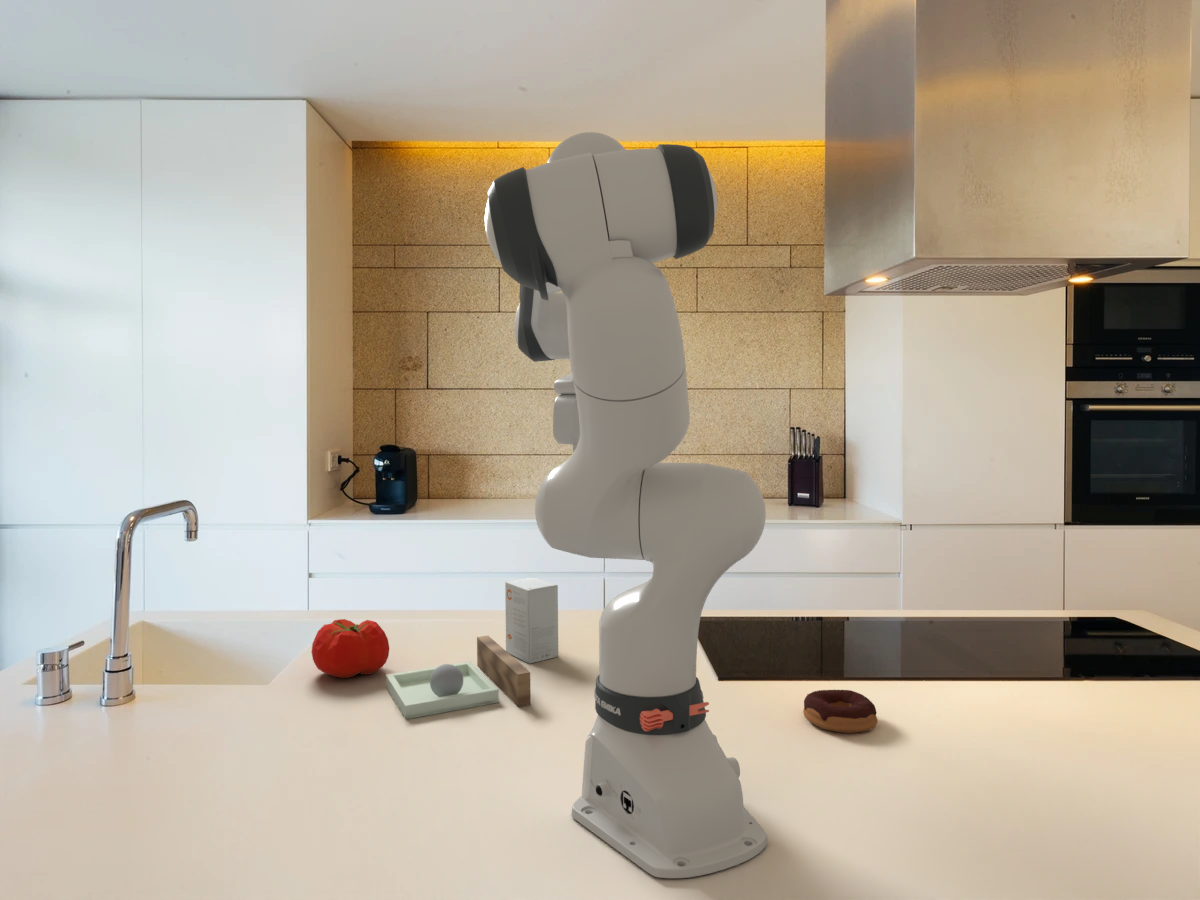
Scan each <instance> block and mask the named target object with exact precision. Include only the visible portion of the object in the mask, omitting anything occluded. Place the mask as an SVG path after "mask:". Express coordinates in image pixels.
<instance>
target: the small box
mask: <svg viewBox="0 0 1200 900" xmlns="http://www.w3.org/2000/svg"><path fill="white" fill-rule="evenodd" d="M504 587H505V589H504V590H505V591H504V592H505V651H507V652H508V653H509V654H510V655H511V656H512V657H514V658H518V659H519V660H521V661H523V662H525V663H527V664H534V663H539V662H542V661H546V660H550V659H555V658H557V657H559V598H558V597H559V592H558V589H559V585H558V584H556V583H553V582H549V581H547V580H543V579H541V578H538V577H535V576H534V577H533V576H532V577H526V578H520V579H513V580H507V581H505V586H504Z"/></svg>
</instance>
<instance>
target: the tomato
mask: <svg viewBox="0 0 1200 900" xmlns="http://www.w3.org/2000/svg"><path fill="white" fill-rule="evenodd" d="M386 634H387V633H385V631H384V630H383V628H382V627H381V626H380V624H378V623H377V622H376V621H374V620H369V619H366V620H363V621H362V622H360V623H359V624H358V623H357V624H356V623H354V622H353V621H351V620H349V619H346V618H344V619H342V618H341V619H335V620H333V621H332V622H330V623H326V624H323V626H322V627H320V629H319V630H318V631H317V632H316V635H315V637H314V639H313V642H312V644H311V645H312V646H311V656H312V661H313V663H314V665H315V667H316V668H317V669H318V671H320V672H322V673H325V674H328V675H331V676H332V677H333V676H334V677H336V678H344V679H348V678H351V677H354V676H356V675H358V674H362V675H371V674H374V673H376V672H378V671H379V670H380V669H381V668H383V666H384V665H385V664H386V663H387V661H388V658H389V654H390V645H389V638H388V636H387V635H386Z"/></svg>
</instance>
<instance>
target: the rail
mask: <svg viewBox="0 0 1200 900" xmlns="http://www.w3.org/2000/svg"><path fill="white" fill-rule="evenodd" d="M476 659H477V660H476V662H477V666H476V667H477V668H478V669H479V670H480V671H481V672H482V673H483V674H484V675H485V676H486V677H487V678H488V679H489V680H490V681H491V682H492V683H493V684H494V685H495V686H496V687H498V689H499V690H501V692H502V693H503V694H505V695H506V696H507V698H508V699H509V700H511V701H512V703H513V704H514V705H515V706H516V707H518V708H521V707H527V706H530V705H532V704H531V699H532V698H531V672H530V671H529V669H527V668H526V667H525V666H524V665H523V664H521V662H519V661H518V660H517V659H516V657H514V656H513V655H511V654H509V653H508V652H507V651H506V649H505V648H503V647H502V646H501V645H500V644H499V643H498V642H497V641H495V640H494V639H493V638H492V637H490V636H489V635H481V636H476Z"/></svg>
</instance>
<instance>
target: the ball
mask: <svg viewBox="0 0 1200 900" xmlns="http://www.w3.org/2000/svg"><path fill="white" fill-rule="evenodd" d="M438 666H439V667H438ZM438 666H436V667H437V668H436V669H435V670H434V671H433V673H432V675H431V678H430V686H431V689H432V691H433V692H434V694H435V695H437V696H438V697H443V696H449V695H455V694H458V693H459V692H460V690H461V688H462V686H463V675H462V673H461V671H460V670H459V669H458V668H457V667H456V666H454V665H451V664H450V663H447V664H446V663H445V664H441V665H438Z"/></svg>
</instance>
